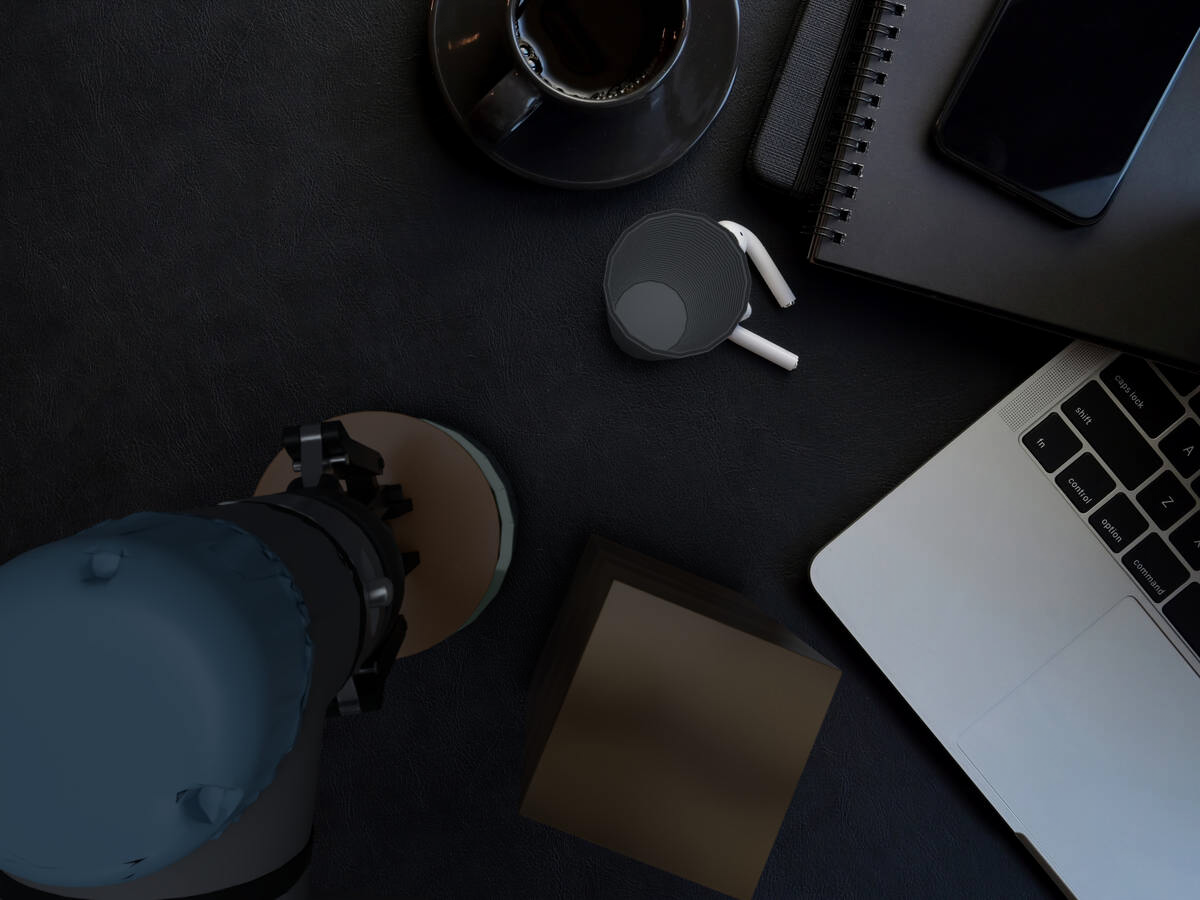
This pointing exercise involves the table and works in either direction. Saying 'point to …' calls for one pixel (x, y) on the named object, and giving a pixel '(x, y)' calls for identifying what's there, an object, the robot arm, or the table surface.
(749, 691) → the stand
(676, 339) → the cup
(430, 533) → the lid
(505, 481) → the pot
